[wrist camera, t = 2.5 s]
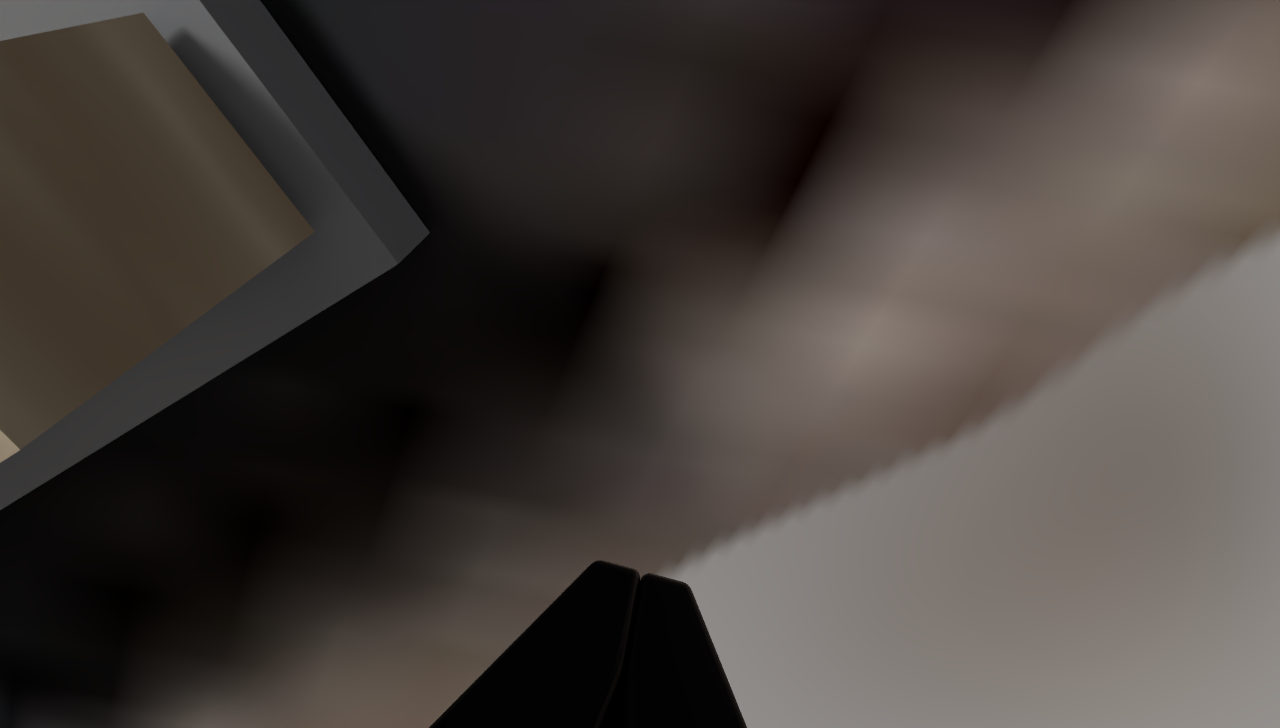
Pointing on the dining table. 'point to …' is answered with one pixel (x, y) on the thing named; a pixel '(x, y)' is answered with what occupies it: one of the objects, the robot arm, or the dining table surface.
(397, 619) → the dining table surface
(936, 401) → the dining table surface
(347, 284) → the dark grey flat piece
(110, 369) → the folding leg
